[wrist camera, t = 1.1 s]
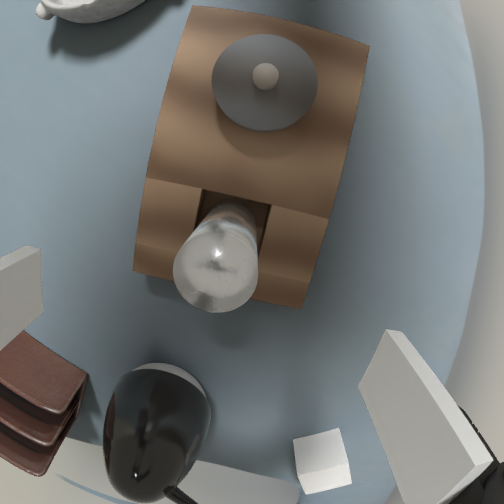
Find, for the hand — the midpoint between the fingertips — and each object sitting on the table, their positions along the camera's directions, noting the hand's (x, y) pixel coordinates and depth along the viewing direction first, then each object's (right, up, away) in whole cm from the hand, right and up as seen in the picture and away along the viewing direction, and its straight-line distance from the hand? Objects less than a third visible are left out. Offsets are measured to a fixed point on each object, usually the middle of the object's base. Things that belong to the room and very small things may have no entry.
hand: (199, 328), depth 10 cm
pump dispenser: (-7, -12, +21) cm, 25 cm away
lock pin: (0, +5, +15) cm, 16 cm away
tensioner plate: (+1, +11, +14) cm, 18 cm away
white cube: (+11, -23, +24) cm, 35 cm away
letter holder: (-29, -11, +21) cm, 37 cm away
